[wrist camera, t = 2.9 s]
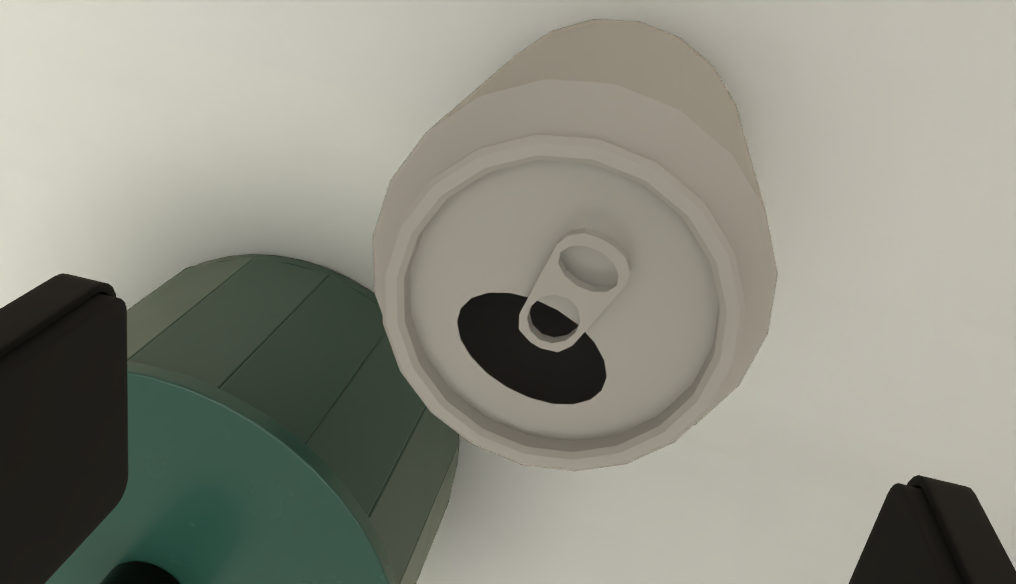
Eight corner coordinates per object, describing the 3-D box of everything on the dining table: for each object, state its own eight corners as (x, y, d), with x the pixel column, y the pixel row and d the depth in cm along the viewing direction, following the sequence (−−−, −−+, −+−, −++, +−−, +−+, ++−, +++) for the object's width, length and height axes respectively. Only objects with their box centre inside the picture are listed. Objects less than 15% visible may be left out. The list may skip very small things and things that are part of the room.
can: (438, 190, 27) (276, 375, 16) (561, -39, 24) (461, 2, 13) (648, 313, 27) (627, 575, 17) (796, 104, 24) (889, 259, 13)
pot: (119, 216, 30) (-80, 323, 22) (486, 303, 28) (413, 448, 21) (123, 515, 35) (-36, 687, 27) (433, 599, 34) (358, 803, 26)
